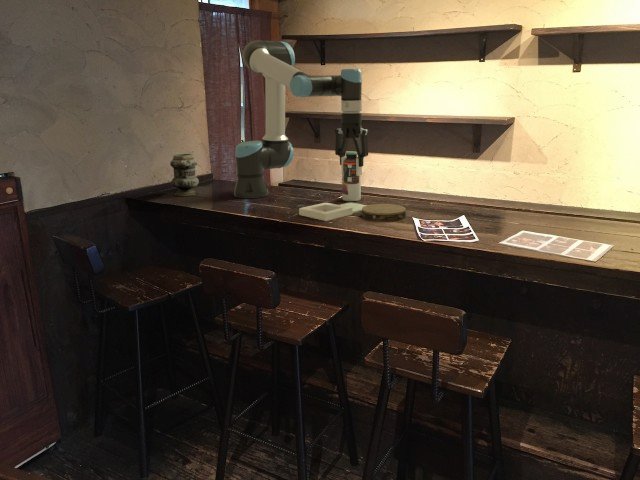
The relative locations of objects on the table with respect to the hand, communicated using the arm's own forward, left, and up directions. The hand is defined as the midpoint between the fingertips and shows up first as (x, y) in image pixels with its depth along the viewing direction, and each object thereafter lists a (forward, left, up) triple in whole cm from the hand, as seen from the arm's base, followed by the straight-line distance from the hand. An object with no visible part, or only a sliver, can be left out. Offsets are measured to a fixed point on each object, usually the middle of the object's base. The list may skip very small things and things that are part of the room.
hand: (351, 174), depth 202 cm
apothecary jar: (-76, -28, -14) cm, 82 cm away
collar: (0, -14, -13) cm, 19 cm away
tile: (0, 0, -13) cm, 13 cm away
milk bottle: (-11, +12, -14) cm, 21 cm away
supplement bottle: (0, 0, -4) cm, 4 cm away
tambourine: (+17, -1, -14) cm, 22 cm away
